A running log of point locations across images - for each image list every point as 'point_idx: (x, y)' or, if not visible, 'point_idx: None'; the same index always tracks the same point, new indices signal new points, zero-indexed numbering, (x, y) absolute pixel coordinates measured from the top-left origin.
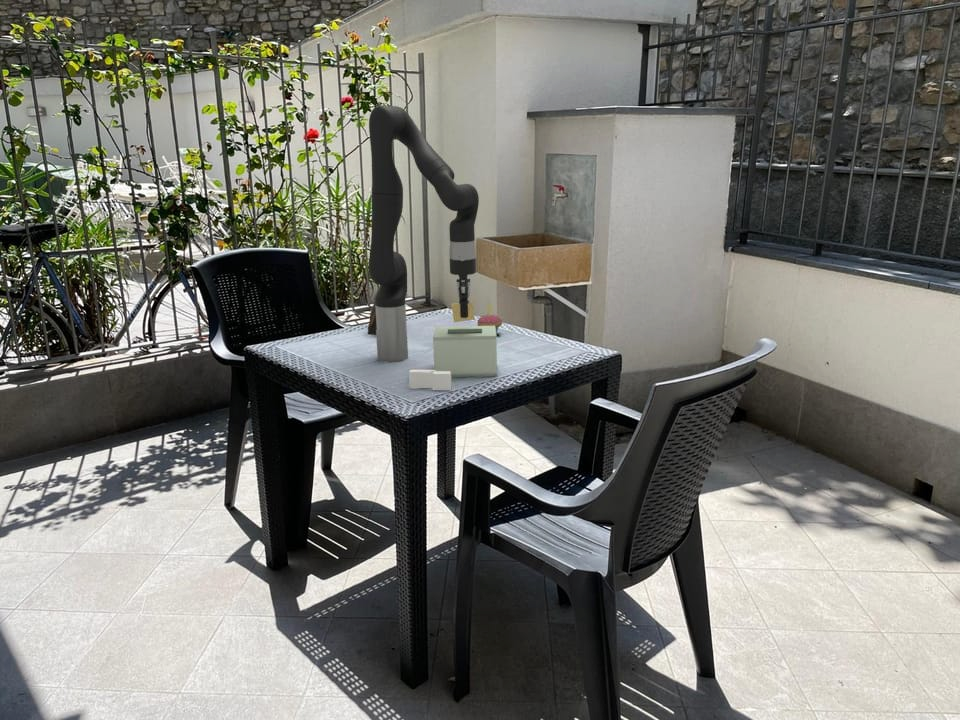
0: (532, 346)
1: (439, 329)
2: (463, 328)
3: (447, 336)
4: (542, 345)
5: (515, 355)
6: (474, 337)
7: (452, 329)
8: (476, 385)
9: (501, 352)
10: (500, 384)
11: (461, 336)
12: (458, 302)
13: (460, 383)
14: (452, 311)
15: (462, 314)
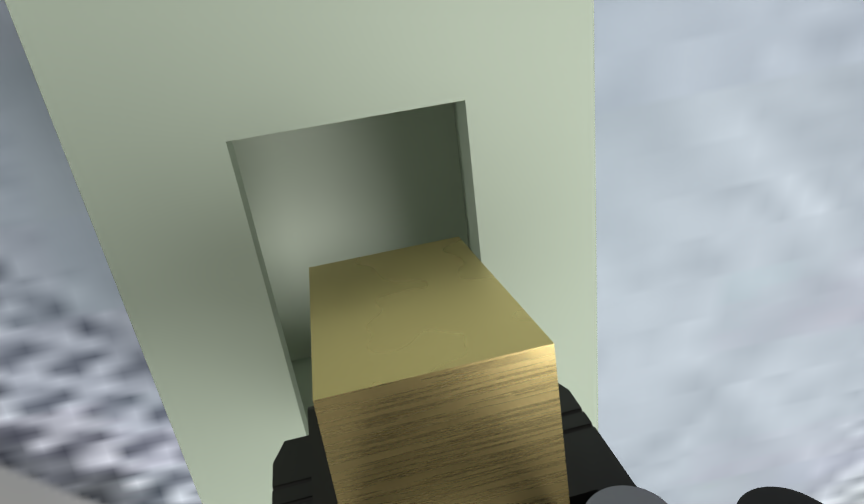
0: (786, 422)
1: None
2: (507, 266)
3: (101, 168)
4: (792, 458)
5: (645, 382)
6: (183, 437)
7: (468, 153)
8: (31, 304)
9: (710, 304)
10: (96, 424)
11: (141, 328)
12: (560, 477)
13: (42, 196)
14: (313, 340)
15: (273, 477)
